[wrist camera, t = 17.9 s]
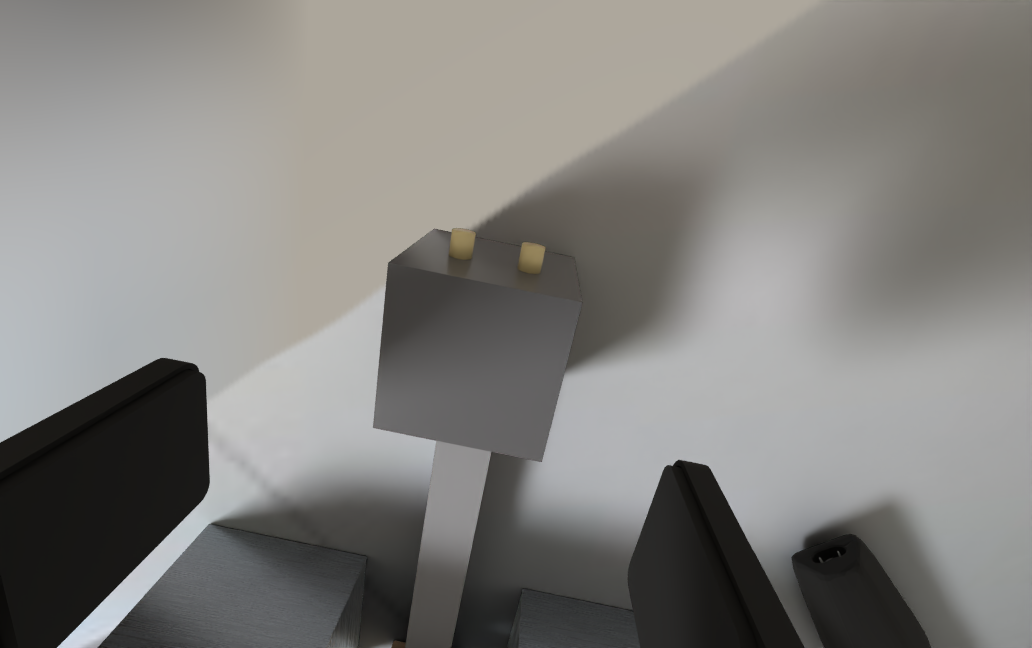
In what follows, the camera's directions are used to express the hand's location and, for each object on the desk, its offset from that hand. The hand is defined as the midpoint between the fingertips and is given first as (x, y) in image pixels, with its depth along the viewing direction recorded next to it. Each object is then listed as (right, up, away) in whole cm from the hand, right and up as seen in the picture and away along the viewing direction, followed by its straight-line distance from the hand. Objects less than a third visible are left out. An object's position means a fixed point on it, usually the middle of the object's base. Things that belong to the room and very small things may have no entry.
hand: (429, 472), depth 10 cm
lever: (-1, -4, +9) cm, 10 cm away
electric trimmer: (+17, -10, +11) cm, 22 cm away
